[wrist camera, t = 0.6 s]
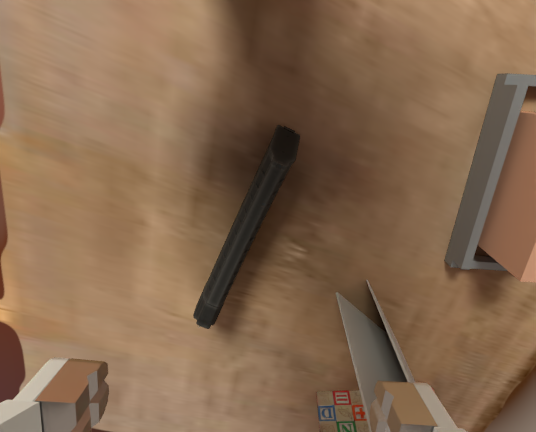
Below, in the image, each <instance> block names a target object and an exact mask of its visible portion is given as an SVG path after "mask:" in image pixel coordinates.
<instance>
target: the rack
mask: <svg viewBox="0 0 536 432" xmlns="http://www.w3.org/2000/svg"><path fill="white" fill-rule="evenodd" d="M528 86H536V75H524V74H497V77H496V81H495V84H494V88H493V91H492V95H491V98H490V102H489V105H488V109H487V112H486V116H485V119H484V123H483V126H482V130H481V133H480V137H479V141H478V144H477V148H476V151H475V155H474V158H473V162H472V165H471V169H470V172H469V176H468V179H467V183H466V186H465V190H464V193H463V197H462V201H461V204H460V208H459V211H458V215H457V218H456V222H455V225H454V229H453V232H452V236H451V239H450V243H449V246H448V250H447V254H446V257H445V262H446V263H447V264H448V265H449V266H450V267H455V268H460V269H468V270H470V269H486V270H502V271H508V270H506V269H505V268H504V267H503V266H502V265H500V264H499V263H498V262H497V261H496V260H495V259H493V258H492V257H491V256H477V255H474V254H475V251H476V248H477V245H478V242H479V239H480V236H481V233H482V229H483V226H484V223H485V220H486V217H487V214H488V211H489V208H490V204H491V201H492V198H493V195H494V192H495V189H496V186H497V182H498V179H499V176H500V173H501V170H502V167H503V164H504V161H505V157H506V154H507V151H508V148H509V145H510V142H511V139H512V136H513V132H514V129H515V126H516V123H517V120H518V117H519V114H520V110H521V107H522V104H523V101H524V98H525V95H526V92H527V89H528Z"/></svg>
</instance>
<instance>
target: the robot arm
mask: <svg viewBox="0 0 536 432" xmlns="http://www.w3.org/2000/svg"><path fill="white" fill-rule="evenodd" d="M107 374H108V364H107V363H106V362H104V361H93V360H82V359H68V358H57V357H54V358H52V359H49V360H48V361H47V362H46V364H45V365H44V366H43V367H42V368H41V369H40V370H39V371H38V372H37V374H36V375H35V376H34V377H33V378H32V379H31V380H30V381H29V382H28V384H27V385H26V386H25V387H24V388H23V389H22V390H21V391H20V392H19V394H18V395H17V396H16V397H15V398H14V399H13V400H6V401H4V402H2V403H0V432H91V427H93V426H94V425H96V424H97V423H98V422H99V421H100V419H101V418H102V416H103V414H104V411H105V408H106V405H107V402H108V395H109V386H108V385H107V383H106V382H105V381H104V379H105V378H106V376H107ZM374 392H375V395H376V397H377V398H376V399H375V400H374V401H373V402H372V403H371V407H370V426H371V431H372V432H467V431H465V430H464V429H462V428H457V426H456V425H455V423H454V422H453V420H452V419H451V417H450V416H449V414H448V412H447V411H446V409H445V408H444V406H443V405H442V403H441V402H440V400H439V399H438V397H437V396H436V394H435V392H434V391H433V389H432V388H431V386H430V385H429V384H427V383H419V382H410V383H409V382H395V381H377V383H376V385H375V389H374Z"/></svg>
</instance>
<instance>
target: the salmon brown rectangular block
mask: <svg viewBox="0 0 536 432" xmlns="http://www.w3.org/2000/svg"><path fill="white" fill-rule="evenodd" d="M478 246H479V247H480V248H482V249H483V250H484V251H485V252H486V253H487V254H489V255H490V256H491V257H492V258H493V259H495V260H496V261H497V262H498V263H499V264H500V265H502V266H503V267H504V268H505V269H506V270H508V271H509V272H510V273H511V274H512V275H513V276H515V277H516V278H517V279H518V280H519V281H523V282H536V112H527V111H520V114H519V117H518V120H517V123H516V126H515V129H514V132H513V136H512V139H511V142H510V145H509V148H508V151H507V154H506V157H505V161H504V164H503V167H502V170H501V173H500V176H499V179H498V182H497V186H496V189H495V192H494V195H493V198H492V201H491V204H490V208H489V211H488V214H487V217H486V220H485V223H484V226H483V229H482V233H481V236H480V239H479V242H478Z"/></svg>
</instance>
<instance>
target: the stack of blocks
mask: <svg viewBox="0 0 536 432" xmlns="http://www.w3.org/2000/svg"><path fill="white" fill-rule="evenodd" d="M431 388H432V387H431ZM432 389H433V388H432ZM433 391H434V390H433ZM316 394H317V405H318V416H319V430H320V432H370V431H369V427H368V423H367V419H366V415H365V411H364V407H363V402H362V398H361V394H360V390H358V391H326V392H316Z"/></svg>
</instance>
